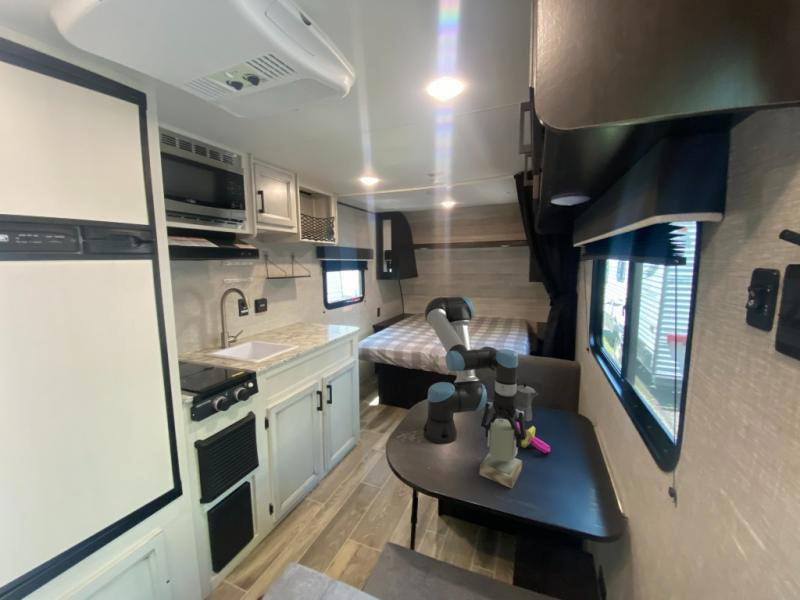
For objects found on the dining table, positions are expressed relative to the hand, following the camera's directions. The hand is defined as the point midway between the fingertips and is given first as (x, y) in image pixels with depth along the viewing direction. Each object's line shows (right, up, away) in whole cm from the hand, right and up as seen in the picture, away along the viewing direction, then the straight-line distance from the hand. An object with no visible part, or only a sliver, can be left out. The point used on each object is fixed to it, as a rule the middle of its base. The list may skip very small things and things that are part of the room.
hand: (502, 449), depth 119 cm
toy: (+17, -7, +18) cm, 26 cm away
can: (0, -2, 0) cm, 2 cm away
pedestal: (0, -9, +1) cm, 9 cm away
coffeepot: (+24, -4, +44) cm, 50 cm away
